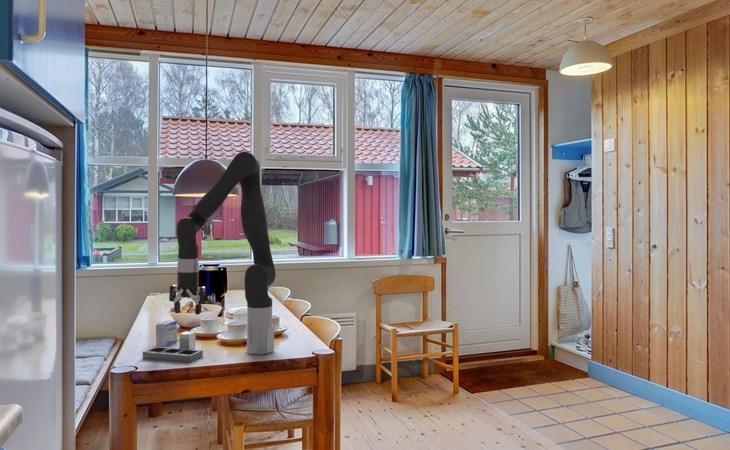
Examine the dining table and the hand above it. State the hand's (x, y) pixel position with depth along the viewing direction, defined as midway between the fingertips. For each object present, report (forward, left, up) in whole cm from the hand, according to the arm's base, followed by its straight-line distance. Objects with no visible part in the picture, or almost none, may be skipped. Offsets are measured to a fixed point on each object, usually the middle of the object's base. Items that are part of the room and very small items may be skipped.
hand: (187, 313), depth 192 cm
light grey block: (0, 0, -14) cm, 14 cm away
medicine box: (+14, -7, -14) cm, 21 cm away
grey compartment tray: (0, +9, -14) cm, 17 cm away
